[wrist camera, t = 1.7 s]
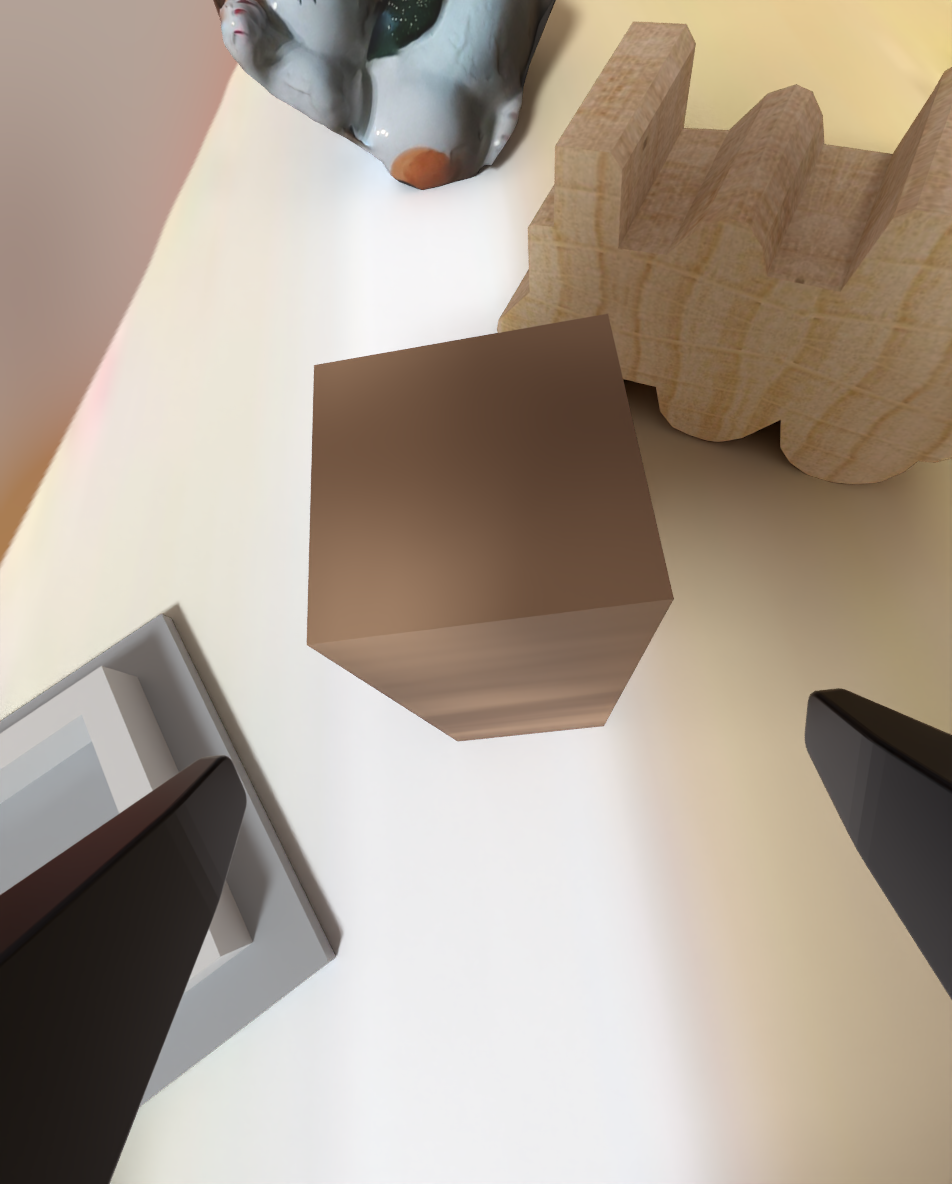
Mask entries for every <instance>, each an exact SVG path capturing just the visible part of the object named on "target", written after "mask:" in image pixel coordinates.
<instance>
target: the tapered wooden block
mask: <svg viewBox="0 0 952 1184" xmlns="http://www.w3.org/2000/svg"><path fill="white" fill-rule="evenodd" d="M673 599H674V598H673V594H672V589H671V585H670V581H669V576H668V572H667V568H666V563H665V559H664V554H663V550H662V546H661V541H660V537H659V533H658V528H657V524H656V520H655V515H654V511H653V507H652V502H651V498H650V494H649V489H648V485H647V481H646V476H645V472H644V468H643V463H642V459H641V455H640V450H639V446H638V442H637V437H636V433H635V429H634V424H633V420H632V416H631V411H630V407H629V403H628V398H627V394H626V390H625V385H624V381H623V377H622V372H621V368H620V364H619V359H618V355H617V351H616V346H615V342H614V338H613V333H612V329H611V325H610V320H609V316H608V314H603V315H597V316H591V317H586V318H580V319H574V320H569V321H563V322H557V323H552V324H546V325H540V326H535V327H529V328H523V329H518V330H512V331H506V332H501V333H495V334H489V335H484V336H478V337H472V338H466V339H461V340H455V341H449V342H444V343H438V344H432V345H427V346H421V347H415V348H410V349H404V350H398V351H393V352H387V353H381V354H376V355H370V356H364V357H359V358H353V359H347V360H342V361H336V362H330V363H324V364H319V365H314V394H313V431H312V468H311V505H310V542H309V580H308V617H307V645H308V646H309V647H311V648H313V649H314V650H316V651H317V652H319V653H320V654H322V655H324V656H325V657H327V658H328V659H330V660H331V661H333V662H334V663H336V664H338V665H339V666H341V667H342V668H344V669H345V670H347V671H349V672H350V673H352V674H353V675H355V676H356V677H358V678H359V679H361V680H363V681H364V682H366V683H367V684H369V685H370V686H372V687H374V688H375V689H377V690H378V691H380V692H381V693H383V694H384V695H386V696H388V697H389V698H391V699H392V700H394V701H395V702H397V703H399V704H400V705H402V706H403V707H405V708H406V709H408V710H410V711H411V712H413V713H414V714H416V715H417V716H419V717H420V718H422V719H424V720H425V721H427V722H428V723H430V724H431V725H433V726H435V727H436V728H438V729H439V730H441V731H442V732H444V733H445V734H447V735H449V736H450V737H452V738H453V739H455V740H456V741H466V740H475V739H485V738H494V737H504V736H513V735H523V734H532V733H542V732H552V731H561V730H571V729H580V728H590V727H599V726H604V725H605V723H606V721H607V719H608V717H609V716H610V714H611V712H612V710H613V708H614V706H615V705H616V703H617V701H618V699H619V697H620V696H621V694H622V692H623V690H624V688H625V686H626V685H627V683H628V681H629V679H630V677H631V676H632V674H633V672H634V670H635V668H636V666H637V665H638V663H639V661H640V659H641V657H642V656H643V654H644V652H645V650H646V648H647V646H648V645H649V643H650V641H651V639H652V637H653V635H654V634H655V632H656V630H657V628H658V626H659V625H660V623H661V621H662V619H663V617H664V615H665V614H666V612H667V610H668V608H669V606H670V605H671V603H672V601H673Z"/></svg>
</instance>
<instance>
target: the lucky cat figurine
mask: <svg viewBox="0 0 952 1184" xmlns="http://www.w3.org/2000/svg"><path fill="white" fill-rule="evenodd" d="M555 1H556V0H214V3H215V6H216V9H217V12H218V15H219V17H220V20H221V30H222V34H223V41H224V44H225V47H226V48H227V49H228V51H229V52H230V54H231V55H232V57H233V58H234V59H235V60H236V61H237V62H238V63H239V65H240V66H241V67H242V69H243V70H244V71H245V72H246V73H247V74H248V75H250V76H251V77H252V78H253V79H255V80H256V81H257V82H258V83H260V84H261V85H262V86H263V87H265V88H266V89H267V90H268V91H269V92H270V93H271V94H272V95H274V96H275V97H276V98H278V99H280V100H281V101H283V102H285V103H287V104H289V105H290V106H292V107H294V108H295V109H297V110H299V111H300V112H302V113H304V114H305V115H307V116H308V117H309V118H311V119H312V120H314V121H316V122H318V123H320V124H323V125H325V126H326V127H327V128H328V129H330V130H332V131H334V132H336V133H337V134H339V135H341V136H343V137H345V138H347V139H349V140H350V141H352V142H353V143H355V144H357V145H358V146H360V147H361V148H363V149H364V150H366V151H368V152H369V153H371V154H372V155H373V156H375V157H376V158H377V159H378V160H380V161H382V163H383V164H384V166H385V167H386V169H387V170H388V172H389V173H390V175H391V176H393V177H394V178H395V179H397V180H398V181H399V182H402V183H404V184H407V185H409V186H412V187H415V188H417V189H421V190H423V189H427V188H433V187H438V186H441V185H445V184H448V183H452V182H455V181H460V180H464V179H468V178H471V177H473V176H475V175H476V174H477V173H478V172H479V170H480V168H482V167H483V166H484V165H492V164H493V162H494V161H495V159H496V157H497V156H498V154H499V153H500V151H501V150H502V149H503V147H504V146H505V144H506V143H507V141H508V140H509V138H510V136H511V134H512V133H513V131H514V129H515V127H516V125H517V122H518V116H519V110H520V108H521V105H522V96H523V86H524V83H525V79H526V75H527V72H528V68H529V65H530V62H531V60H532V57H533V55H534V52H535V50H536V47H537V45H538V42H539V40H540V37H541V35H542V33H543V30H544V28H545V25H546V23H547V20H548V18H549V15H550V13H551V10H552V8H553V5H554V3H555Z"/></svg>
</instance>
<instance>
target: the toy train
mask: <svg viewBox="0 0 952 1184" xmlns="http://www.w3.org/2000/svg"><path fill="white" fill-rule="evenodd" d="M695 45H696V43H695V41H694V39H693V37H692V35H691V33H690V31H689V28H688V26H687V24H673V23H651V22H633V23H632V24H631V26H630V27H629V29H628V31H627V32H626V34H625V35H624V37H623V39H622V40H621V42H620V43H619V45H618V47H617V48H616V50H615V51H614V53H613V55H612V56H611V58H610V59H609V61H608V63H607V64H606V66H605V67H604V69H603V71H602V72H601V74H600V75H599V77H598V79H597V80H596V82H595V83H594V85H593V87H592V88H591V90H590V91H589V93H588V94H587V96H586V98H585V99H584V101H583V102H582V104H581V106H580V107H579V109H578V110H577V112H576V114H575V115H574V117H573V118H572V120H571V122H570V123H569V125H568V126H567V128H566V130H565V131H564V133H563V134H562V136H561V138H560V139H559V141H558V142H557V144H556V146H555V184H554V186H553V188H552V189H551V191H550V192H549V194H548V196H547V197H546V199H545V201H544V202H543V204H542V206H541V207H540V209H539V211H538V212H537V214H536V215H535V217H534V219H533V220H532V222H531V224H530V225H529V227H528V251H529V270H528V271H527V273H526V275H525V276H524V278H523V280H522V282H521V283H520V285H519V287H518V288H517V290H516V292H515V293H514V295H513V297H512V298H511V300H510V302H509V303H508V305H507V307H506V309H505V310H504V312H503V314H502V315H501V317H500V319H499V321H498V327H497V332H498V333H501V332H506V331H512V330H518V329H523V328H529V327H535V326H540V325H546V324H552V323H557V322H563V321H569V320H574V319H580V318H586V317H591V316H597V315H603V314H608V316H609V320H610V325H611V329H612V333H613V338H614V342H615V346H616V351H617V355H618V359H619V364H620V368H621V372H622V377H623V379H626V380H630V381H634V382H638V383H642V384H646V385H650V386H654V387H656V390H657V396H658V402H659V408H660V412H661V413H662V414H663V416H664V417H665V418H666V419H667V421H668V422H669V423H670V425H671V426H672V427H674V428H676V429H678V430H680V431H682V432H684V433H686V434H688V435H691V436H694V437H697V438H700V439H703V440H706V441H716V442H722V441H728V440H734V439H739V438H743V437H745V436H747V435H750V434H752V433H754V432H756V431H758V430H760V429H762V428H764V427H767V426H769V425H771V424H773V423H775V422H777V421H779V420H781V434H780V448H781V449H782V451H783V453H784V454H785V456H786V457H787V459H788V460H789V462H790V463H791V464H793V465H794V466H796V467H797V468H798V469H800V470H801V471H803V472H804V473H805V474H807V475H810V476H813V477H816V478H820V479H823V480H826V481H830V482H835V483H845V484H864V483H878V482H881V481H883V480H886V479H888V478H891V477H893V476H896V475H898V474H900V473H903V472H905V471H906V470H907V469H909V468H910V467H911V466H912V465H914V464H915V463H916V462H917V461H925V462H939V461H942V460H946V459H950V458H952V67H951V68H950V69H948V70H946V71H945V72H944V73H943V75H942V77H941V78H940V80H939V82H938V84H937V85H936V87H935V89H934V91H933V92H932V94H931V95H930V97H929V99H928V100H927V102H926V103H925V105H924V106H923V108H922V109H921V111H920V113H919V114H918V116H917V117H916V119H915V120H914V122H913V123H912V125H911V126H910V128H909V130H908V131H907V133H906V134H905V136H904V137H903V139H902V140H901V142H900V144H899V145H898V147H897V148H896V150H895V151H894V153H893V154H888V153H881V152H874V151H867V150H861V149H854V148H847V147H840V146H833V145H826V144H824V129H823V115H822V112H821V110H820V108H819V105H818V103H817V101H816V99H815V96H814V94H813V92H812V91H810V90H808V89H805V88H803V87H801V86H799V85H797V84H796V85H793V86H790V87H787V88H783V89H780V90H777V91H774V92H771V93H768V94H767V95H766V96H765V97H764V98H763V99H762V100H761V101H760V102H759V103H758V104H756V105H755V106H754V107H753V108H752V109H751V110H750V111H749V112H748V113H747V114H746V115H745V116H744V117H743V118H742V119H741V120H740V121H738V122H737V123H736V124H735V125H734V126H733V127H732V128H731V129H730V130H713V129H692V128H683V127H684V120H685V114H686V107H687V100H688V93H689V86H690V79H691V72H692V66H693V59H694V52H695Z"/></svg>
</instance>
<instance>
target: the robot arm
mask: <svg viewBox="0 0 952 1184" xmlns="http://www.w3.org/2000/svg"><path fill="white" fill-rule="evenodd" d="M805 744H806V748H807V751H808V753H809V755H810V757H811V760H812V762H813V764H814V766H815V768H816V770H817V772H818V774H819V776H820V778H821V780H822V782H823V784H824V786H825V788H826V790H827V792H828V794H829V796H830V798H831V800H832V802H833V804H834V806H835V808H836V810H837V812H838V814H839V816H840V818H841V820H842V822H843V824H844V826H845V828H846V830H847V832H848V834H849V836H850V838H851V840H852V841H853V843H854V845H855V847H856V849H857V851H858V852H859V854H860V856H861V857H862V859H863V861H864V862H865V864H866V866H867V867H868V869H869V870H870V872H871V873H872V875H873V877H874V878H875V880H876V881H877V883H878V884H879V886H880V888H881V889H882V891H883V892H884V894H885V895H886V897H887V899H888V900H889V902H890V903H891V905H892V906H893V908H894V910H895V911H896V913H897V914H898V916H899V917H900V919H901V921H902V922H903V924H904V925H905V927H906V929H907V930H908V932H909V933H910V935H911V936H912V938H913V940H914V941H915V943H916V944H917V946H918V947H919V949H920V951H921V952H922V954H923V955H924V957H925V958H926V960H927V962H928V963H929V965H930V966H931V968H932V969H933V971H934V973H935V974H936V976H937V977H938V979H939V980H940V982H941V984H942V985H943V987H944V988H945V990H946V991H947V993H948V995H949V996H950V998H951V999H952V735H950V734H948V733H946V732H943V731H941V730H939V729H936V728H934V727H932V726H929V725H927V724H925V723H922V722H920V721H918V720H915V719H913V718H910V717H908V716H906V715H903V714H901V713H899V712H896V711H894V710H892V709H889V708H887V707H885V706H882V705H880V704H878V703H875V702H873V701H871V700H868V699H866V698H864V697H861V696H859V695H857V694H854V693H852V692H850V691H847V690H845V689H839V688H838V689H828V690H819V691H814V692H813V693H811V694H810V696H809V699H808V706H807V716H806V727H805ZM246 804H247V797H246V792H245V790H244V787H243V785H242V782H241V780H240V778H239V775H238V773H237V771H236V768H235V766H234V764H233V762H232V760H231V759H230V758H229V757H228V756H226V755H217V756H207V757H202V758H200V759H198V760H197V761H195V762H194V763H192V764H191V765H189V766H188V767H186V768H185V769H184V770H182V771H181V772H179V773H178V774H176V775H175V776H173V777H172V778H170V779H169V780H167V781H166V782H164V783H163V784H162V785H160V786H159V787H157V788H156V789H154V790H153V791H151V792H150V793H148V794H147V795H145V796H144V797H143V798H141V799H140V800H138V801H137V802H135V803H134V804H132V805H131V806H129V807H128V808H126V809H125V810H124V811H122V812H121V813H119V814H118V815H116V816H115V817H113V818H112V819H110V820H109V821H107V822H106V823H105V824H103V825H102V826H100V827H99V828H97V829H96V830H94V831H93V832H91V833H90V834H88V835H87V836H86V837H84V838H83V839H81V840H80V841H78V842H77V843H75V844H74V845H72V846H71V847H69V848H68V849H67V850H65V851H64V852H62V853H61V854H59V855H58V856H56V857H55V858H53V859H52V860H50V861H49V862H48V863H46V864H45V865H43V866H42V867H40V868H39V869H37V870H36V871H34V872H33V873H31V874H30V875H29V876H27V877H26V878H24V879H23V880H21V881H20V882H18V883H17V884H15V885H14V886H12V887H11V888H10V889H8V890H7V891H5V892H4V893H2V894H1V895H0V1184H110V1181H111V1178H112V1176H113V1173H114V1171H115V1168H116V1166H117V1163H118V1161H119V1158H120V1155H121V1153H122V1150H123V1148H124V1145H125V1143H126V1140H127V1137H128V1135H129V1132H130V1130H131V1127H132V1125H133V1122H134V1119H135V1117H136V1114H137V1112H138V1109H139V1107H140V1104H141V1102H142V1099H143V1096H144V1094H145V1091H146V1089H147V1086H148V1084H149V1081H150V1078H151V1076H152V1073H153V1071H154V1068H155V1066H156V1063H157V1061H158V1058H159V1055H160V1053H161V1050H162V1048H163V1045H164V1043H165V1040H166V1037H167V1035H168V1032H169V1030H170V1027H171V1025H172V1022H173V1019H174V1017H175V1014H176V1012H177V1009H178V1007H179V1004H180V1002H181V999H182V996H183V994H184V991H185V989H186V986H187V984H188V981H189V978H190V976H191V973H192V971H193V968H194V966H195V963H196V961H197V958H198V955H199V953H200V950H201V948H202V945H203V943H204V940H205V937H206V935H207V932H208V930H209V927H210V925H211V922H212V919H213V917H214V914H215V911H216V909H217V906H218V903H219V900H220V897H221V894H222V891H223V888H224V885H225V881H226V877H227V874H228V870H229V867H230V863H231V860H232V856H233V853H234V849H235V846H236V842H237V839H238V835H239V831H240V828H241V824H242V821H243V817H244V814H245V810H246Z"/></svg>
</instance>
